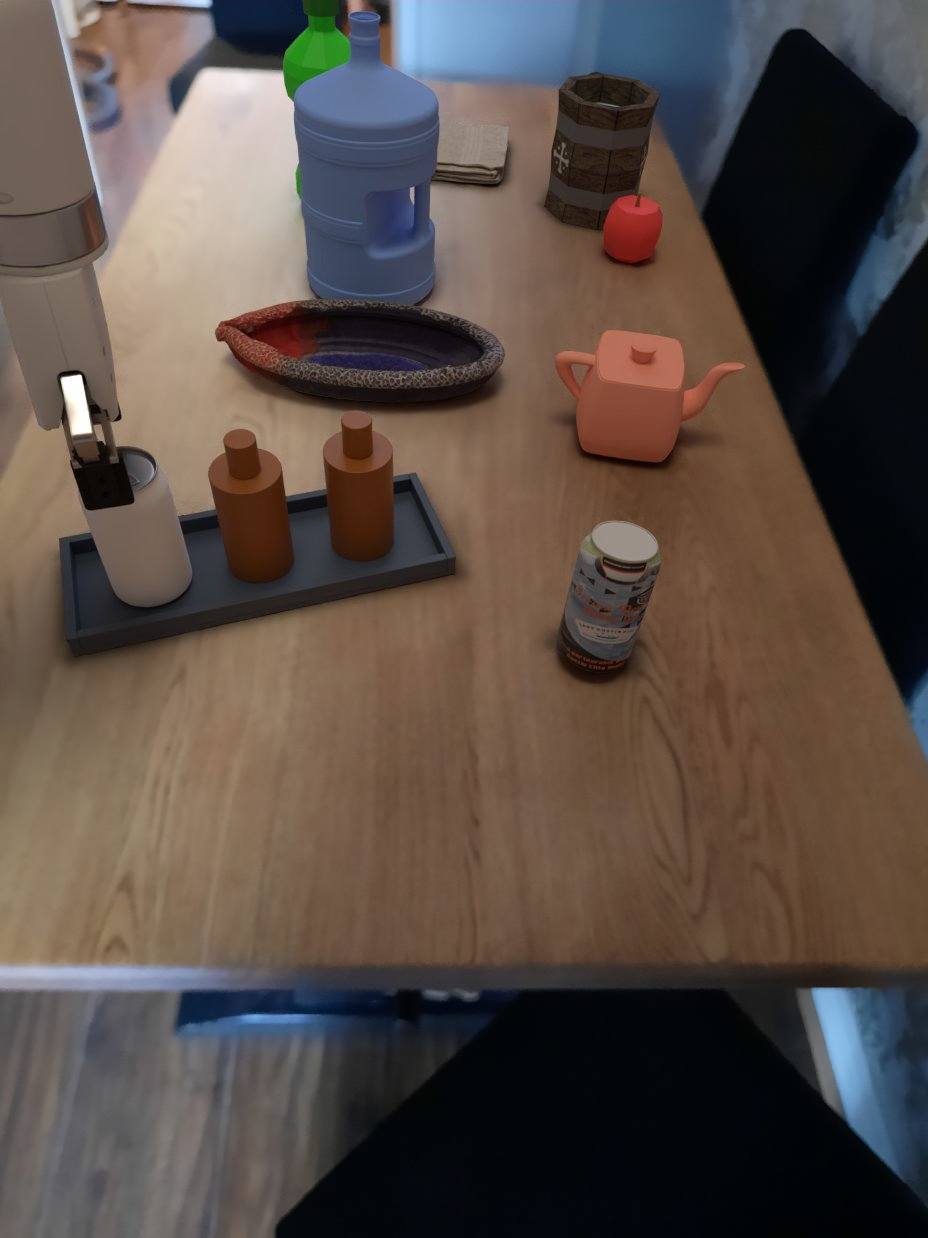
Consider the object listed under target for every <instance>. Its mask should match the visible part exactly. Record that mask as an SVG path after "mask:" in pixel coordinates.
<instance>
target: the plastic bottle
mask: <svg viewBox="0 0 928 1238" xmlns="http://www.w3.org/2000/svg"><path fill="white" fill-rule="evenodd" d="M302 8H303V14H305V15H307V16H308V17H307V18H308V26H307V27H306V28H305V29H304V30H303V31H302V32H301V33H300V34H299V35H298V36H297V37H296V38H295V39H294V41H293V42H292V43H291V44H290V45H289V46H288V47H287V48H286V49H285V51H284V56H283V60H282V69H283V71H282V73H283V81H284V82H283V83H284V84H283V85H284V87H285V92H286V95H287V97H288V98H289V99H290V100H291V101H292V102H293V103H294V95H295V92H296V90H297V89H298V88H299V86H301V85H302V84H303V83H304V82H306V81H307V80H309V79H311V78H314V77H316V76H318V75H320V74H322V73H325V72H327V71H329V70H331V69H333V68H335V67H338V66H340V65H342V64H344V63H346V62H348V61H349V59H350V54H351V51H350V42H349V37H347V36H346V35H345V34H344V33H343V32H341V30H339V29H338V28H337V27H336V16H337V15H339V14H340V3H339V0H302ZM295 185H296V193H297V195H298V197H299V200H300V201H301V180H300V169H299V162H298V164H297V167H296V169H295Z"/></svg>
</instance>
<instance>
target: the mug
mask: <svg viewBox="0 0 928 1238" xmlns="http://www.w3.org/2000/svg"><path fill="white" fill-rule="evenodd" d="M660 96H661V93H660V92H658V91H657V90H655V89H654V88H652V87H650V86H649V85H648V84H646V83H644V82H643V81H641V79H635V78H631V77H625V76H619V75H613V74H607V73H604V72H603V73H602V72H598V71H593V72H590V73H589V74H582V75H577V76H576V75H575V76H573V75H572V76H568V77H567V78H566V80H565V81H564V82H563V83H562V85H561V86H560V87H559V88H558V105H557V106H558V108H557V109H558V111H557V119H556V125H555V132H554V136H553V141H552V146H551V150H550V152H551V153H550V175H549V182H548V189H547V193H546V197H545V200H544V206H543V207H544V208H545V209H546V210H547V211H549V212H550V213H551V214H552V215H553V216H554V217H556V218H557V219H558V220H559V221H560V222H561V223H565V224H569V225H574V226H579V227H583V228H588V229H592V230H597V231H598V230H603V227H604V224H605V221H606V218H607V215H608V212H609V210H610V207H611V205H612V204H613V203H614V202H615V201H616V200H617V199H618V198H621V197H625V196H630V195H634V196H638V194H639V189H640V186H641V185H640V184H641V180H642V175H643V172H644V169H645V166H646V165H645V164H646V161H647V157H648V154H649V147H650V137H651V130H652V127H653V126H652V125H653V121H654V116H655V111H656V108H657V106H658V102H659V99H660Z"/></svg>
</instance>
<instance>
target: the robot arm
mask: <svg viewBox="0 0 928 1238" xmlns="http://www.w3.org/2000/svg"><path fill="white" fill-rule="evenodd" d="M65 55H66V54H65V51H64V47H63V43H62V39H61V34H60V30H59V25H58V21H57V17H56V12H55V8H54V5H53V1H52V0H0V302H1V307H2V310H3V313H4V317H5V321H6V324H7V328H8V331H9V334H10V337H11V342H12V344H13V348H14V351H15V354H16V357H17V361H18V364H19V366H20V370H21V373H22V377H23V380H24V382H25V385H26V388H27V392H28V395H29V399H30V401H31V406H32V409H33V412H34V414H35V418H36V422H37V425H38V426H39V427H40V428H41V429H42V430H45V431H46V432H49V431H52V430H56V429H60V427H61V426H62V427H63V428H62V429H63V432H64V436H65V441H66V445H67V449H68V454H69V457H70V459H69V463H70V464H69V465H70V468H71V472H72V475H73V477H74V480H75V483H76V486H77V490H78V489H79V492H80V495H81V498H82V501H83V504H84V507H85V508H86V509H87V510H89V511H93V510H100V509H106V508H112V507H119V506H125V505H131V504H133V503H134V501H135V499H134V494H133V490H132V486H131V483H130V479H129V476H128V472H127V468H126V465H125V461H124V458H123V454H122V452H121V453H117V449H116V447H117V445H116V440H115V436H114V431H113V427H112V423H116V422H120V421H121V420H122V418H123V417H122V410H121V407H120V403H119V400H118V392H117V381H116V380H117V379H116V372H115V365H114V355H113V349H112V343H111V337H110V332H109V328H108V322H107V317H106V312H105V308H104V303H103V300H102V295H101V292H100V287H99V282H98V278H97V275H96V271H95V267H94V262H95V261H97V260H98V259H99V258H101V257H102V256H103V255H104V254H105V252H106V250H108V248H109V243H110V240H109V236H108V232H107V227H106V223H105V222H106V221H105V218H104V215H103V210H102V206H101V202H100V197H99V193H98V188H97V185H96V181H95V178H94V174H93V170H92V165H91V161H90V157H89V153H88V148H87V145H86V141H85V135H84V132H83V128H82V123H81V120H80V114H79V111H78V108H77V102H76V97H75V94H74V89H73V86H72V85H73V84H72V81H71V77H70V72H69V68H68V64H67V60H66V56H65ZM94 426H101V430H102V434H103V435H102V436H103V439H104V441H103V440H98V437H97V434H96V430H95V427H94Z"/></svg>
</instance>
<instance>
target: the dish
mask: <svg viewBox="0 0 928 1238" xmlns="http://www.w3.org/2000/svg"><path fill="white" fill-rule="evenodd" d="M214 335H215V339H216V341H217V342H218V343H222V342H224V343H225V344H227V346H228V348H229V351H230V352H231V354H232V356H233V358H234V359H235V360H236V362H238V363H240V364H241V365H242V366H243V367H244V368H246V369H247V370H248V371H250V372H253V373H255V374H257V375H259V376H261V377H262V378H264V379H267V380H268V381H270V382H272V383H274V384H276V385H279V386H281V387H283V388H285V389H288V390H291V391H295V392H299V393H303V394H307V395H314V396H319V397H325V398H333V399H339V400H340V399H341V400H347V401H348V400H349V401H350V400H351V401H360V402H373V403H374V402H375V403H376V402H377V403H381V402H383V403H411V402H426V401H427V402H429V401H436V400H437V401H439V400H443V399H449V398H454V397H457V396H463V395H465V394H468V393H470V392H473V391H475V390H477V389H478V388H480V387H482V386H483V385H485V384H486V383H488V382H489V381H490V380H491V379H492V378H493V377H494V376H495V374H496V373H497V371H498V369H500V368H501V366H502V365H503V364H504V360H505V358H506V357H505V356H506V352H505V351H506V350H505V348H504V346H503V343H501V341H500V340H499V339H498V338H497V337H496V336H495V335H494V333H492V332H490V331H489V330H487V329H486V328H484V327H482V326H480V325H478V324H476V323H474V322H472V321H470V320H467V319H465V318H462V317H459V316H456V315H454V314H450V313H447V312H443V311H438V310H435V309H430V308H427V307H421V306H416V305H405V304H399V303H391V302H383V301H371V300H356V299H322V298H316V299H315V298H314V299H313V298H311V299H302V300H293V301H287V302H283V303H278V304H274V305H269V306H267V307H263V308H260V309H256V310H253V311H249V312H245V313H243V314H240V315H238V316H235V317H233V318H231V319H226V320H221V321H220V322H219V324H218V325H217V327H216V328H215V330H214Z"/></svg>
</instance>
